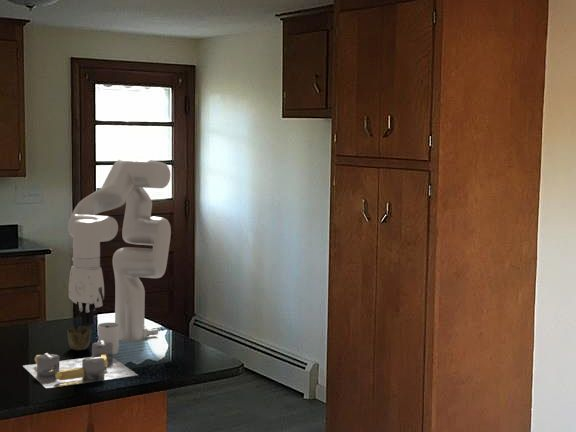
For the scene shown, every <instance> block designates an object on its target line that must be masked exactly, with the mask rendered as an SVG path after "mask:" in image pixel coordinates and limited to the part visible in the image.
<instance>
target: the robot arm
mask: <svg viewBox="0 0 576 432" xmlns="http://www.w3.org/2000/svg"><path fill="white" fill-rule="evenodd" d="M170 181H171V170H170V168H169V166H168V164H167V163H165V162H161V161H156V160H153V159H144V158H143V159H142V158H141V159H140V158H121V159H118V160H116V161H115V162H114V163H113V165H112V166H111V169H110V170H109V173H108V174H107V176H106V178H105V180H104V181H103V184H102V186H101V188H99V189H97V190H95V191H94V192H92V193H90V194H89V195H87V196H86V197H84V198H82V199H81V200H80V201H78V203H77V205H76V206H75V207H74V209H73V211H72V213H71V215H70V218H69V219H68V224H67V231H68V234H69V236H70V237H72V257H71V261H72V266H71V267H70V270H69V271H70V272H69V277H68V298H69V299H70V300H71V302H72V303H74V304H76V305H77V306H78V308H79V309H78V310H79V311H80V312H81V314H80V315H81V317H80V318H81V326H85V327H88V326H90V325H93V324H94V312H95V311H96V309H97V308H101V307H103V300H104V299H105V283H104V275H103V270H102V266H101V242H103V243H104V242H109V241H112V240H113V239H115V238H116V237H117V234H118V231H119V225H118V221H117V220H116V219H115V217H113V216H110V215H101V214H100V213H103V212H104V213H105V212H108V211H111V210H114V209H118V208H120V207H122V206H123V205H125V211H124V216H123V217H124V218H123V223H122V231H121V234H122V235H121V236H122V240H123V241H124V242H125V243H127V244H132V245H141V246H143V245H144V246H152V248H145V247H144V248H143V247H129V246H128V247H121V248H118V249H117V250H116V251H115V252H114V253H113V256H112V269H113V274H114V275H113V276H114V286H115V293H114V294H115V297H114V298H115V300H114V301H115V303H114V307H115V308H114V323H118V324H120V326H119V342H125V343H132V342H133V343H134V342H140V341H142V340H146V339H148V337H150V336H157V335H158V334H159V329H157V328H146V327H145V309H146V308H145V307H146V306H145V302H146V301H145V300H146V299H145V297H146V291H145V287H144V285H143V282H142V281H141V279H140V278H146V279H148V278H149V279H160V278H162V277H163V276H164V275H165V273H166V269H167V264H168V258H169V251H170V243H171V238H172V237H171V235H172V231H171V230H172V227H171V224H170V222H169V220H168V219H167V218H165V217H161V216H152V210H153V209H152V208H153V201H152V199H151V197H150V196H149V194H148V192H147V191H146V190H145V189H147V188H150V189H164V188H166V187H167V186H168V184H169V183H170ZM99 214H100V215H99Z"/></svg>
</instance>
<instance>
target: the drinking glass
mask: <svg viewBox="0 0 576 432" xmlns="http://www.w3.org/2000/svg"><path fill="white" fill-rule="evenodd" d="M119 326H120V324H118V323H115V322H101V323H99V324H97V335H98V336H97V339H98V341H97V342H101V340H103V341H104V342H111V343H112V344H113V355H116V354H118V353H119V342H120V341H119Z"/></svg>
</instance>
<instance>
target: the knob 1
mask: <svg viewBox="0 0 576 432" xmlns="http://www.w3.org/2000/svg"><path fill="white" fill-rule="evenodd" d="M59 361H60V355H58V354H53V353H50V354H49V353H48V352H46V353H44V354H36V355H35V357H34V362H35V364H37V376H38V377H41V378H52V377H55V374H56V373H57V372H59Z"/></svg>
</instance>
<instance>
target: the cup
mask: <svg viewBox="0 0 576 432" xmlns="http://www.w3.org/2000/svg"><path fill="white" fill-rule="evenodd" d="M66 332H67V342H68V346H69V347H70V349H71V350H74V351H77V352H79V351H85V350H86V349H87V348H88V347H89V345H90V344H91V338H92V337H91V336H92V328H91V327H90V326H89V327H88V326H85V325H83V326H82V325H81V326H80V325H79V326H78V328H75V327H74V326H72V327H68V329H66Z"/></svg>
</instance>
